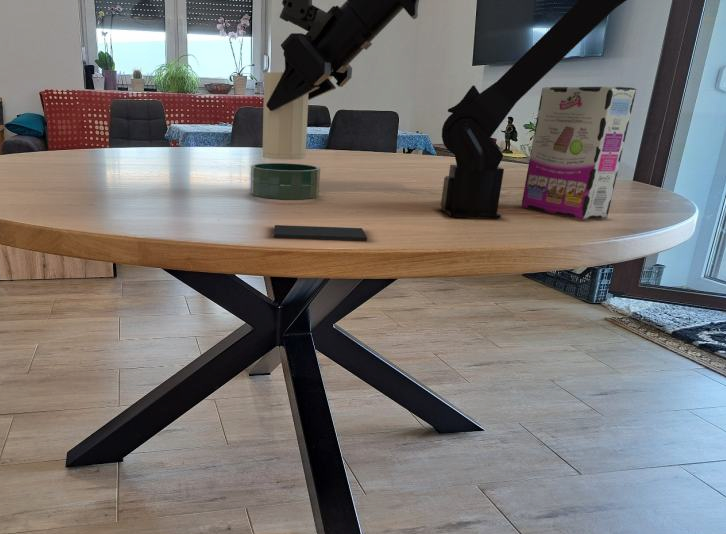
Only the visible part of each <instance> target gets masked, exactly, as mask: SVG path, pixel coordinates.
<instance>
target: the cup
mask: <svg viewBox="0 0 726 534" xmlns="http://www.w3.org/2000/svg"><path fill="white" fill-rule="evenodd" d="M283 73H284V71H283V72H280V71H279V72H277V71H275V72H274V71H268V72H267V71H266V72H264V73H263V103H262V104H263V107H262V108H263V109H262V110H263V111H262V158H265V159H272V160H303V159H306V154H307V137H308V136H307V135H308V116H309V115H308V114H309V100H308V94H309V93H308V94H306V95H304V96H302V97H300V98H298V99H296V100H294V101H292V102H290V103H288V104H286V105H284V106H282V107H280V108H278V109H276V110H273V111H270V110H269V109H268V107H267V106H266V104H267V102H268V101H269V99H270V97H271V95H272V93H273V91H274V90H275V88H276V86H277V84H278V82H279V80H280V79H281V77H282V75H283Z"/></svg>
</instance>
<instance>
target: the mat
mask: <svg viewBox="0 0 726 534" xmlns="http://www.w3.org/2000/svg"><path fill="white" fill-rule="evenodd" d="M273 230H274V231H273V238H274V239H297V240H298V239H299V240H300V239H301V240H326V241H327V240H328V241H329V240H330V241H353V242H355V241H356V242H357V241H359V242H367V241H368V237H367V235H366V232H365V231H364V229H363V228H362V227H341V226H339V227H338V226H315V225H313V226H312V225H288V224H287V225H286V224H285V225H284V224H275V225H274V229H273Z"/></svg>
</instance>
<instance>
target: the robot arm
mask: <svg viewBox="0 0 726 534" xmlns="http://www.w3.org/2000/svg"><path fill="white" fill-rule="evenodd" d="M626 1H627V0H578V1H577V2H576V3H575V4H574V5H573V6H572V7H571V8H570V9H569V10H568V11H566V12H565V14H564V15H563V16H562V17H561V18H559V19H558V20H557V22H556V23H554V25H552V27H550V28H549V29H548V30H547V31H546V32H545V33H544V35H542V36H541V37H540V39H538V40H537V41H536V42H535V43H534V44H533V46H531V47H530V48H529V49H528V50H527V51H526V52H525V53H524V54H523V55H522V56H521V57H520V58H519V59H518V60H517V61H516V62H515V63H514V64H513V65H512V66H511V67H510V68H509V69H508V70H507V71H506V72H505V73H504V74H503V75H501V77H500V78H499V79H498V80H497V81H495V82H494V83H493V84H491V85H490V86H488V87H487V88H485V89H484V90H483V91H481V92H479V90H478V88H477V87H476V86H475V85H472V86H470V87H469V90H468V91H467V92H466V93H465V95H464V96H463V98H462V99H461V100H460V101H459V102H458V103H456V104H455V106H452V107H450V108H448V109H447V112H448V113H451V114H450V115H449V116H448V117H447V118H446V119H445V121H444V123H443V125H442V128H441V139H442V144H443V145H444V147H445V148H446V150H447V151H449V152H450V153H451V154H452V155H454V158H455V163H456V164H450V165H449V171H448V175H445V176H444V177H443V186H442V193H441V201H440V209H441V210H442V211H443V212H445V214H447V215H448V216H450V217H454V218H478V219H480V218H481V219H501V218H502V214H501V213H499V212H498V209H499V202H500V198H501V197H500V196H501V190H502V185H503V177H504V171H505V168H502V167H500V164H501V162H502V161H503V158H504V153H503V150H502V148H501V147H500V146H499V145H498V144H497V142H496V141H495V140H494V139H493V138H492V136H493V135H494V133H496V131H497V129H498V128H499V127H500V126H501V124H502V123H503V122H504V120H505V119H506V118H507V116H508V115H509V113H510V112H511V111H512V109H513V108H514V106H515V105H516V104H517V103H518V102H519V101H520V99H522V98H523V97H524V96H525V95H526V94H527V93H528V92H529V91H530V90H532V88H534V86H536V84H538V83H539V82H540V81H541V80H542V79H543V78H544V77H545V76H546V75H547V74H549V72H550V71H551V70H552V69H553V68H555V67H556V66H557V65H558V64H559V63H560V62H561V61H562V60H563V59H564V58H565V57H566V56H567V55H568V54H570V52H571V51H573V49H575V48H576V46H578V44H580V43H581V42H582V41H583V40H584V39H585V38H586V37H587V36H588V35H589V34H590V33H591V32H592V31H593V30H594V29H595V28H597V26H599V25H600V24H601V23H602V22H603V21H604V20H605V19H606V18H607V17H608V16H609V15H610V14H611V13H612V12H613V11H614V10H615V9H617V8H618V7H620V6H621V5H622V4H623V3H625V2H626ZM419 3H420V0H346V1H345V2H344V3H343V4H342V5H340V6H339V5H336V6H335V5H333V6H332V7H331V8H330V9H329V10H327V11H325V10H322V9H321V8H320V7H317V6H315V5H313V0H282V1H281V4H282V6H283V8H282V10H281V12H280V14H279V19H281V20H283V21H285V22H289V23H291V24H293V25H295V26H296V27H299V28H301V29H303V30H305V31H306V33H303V32H302V33H301V32H297V33H295V32H291V33H290V34H289V35H287V37H286V39H284V41H282V42H281V44H280V47H281V49H282V50H283V53H282V54H283V57H284V70H283V72H284V73H283V75H282V77H281V79H280V80H279V82H278V84H277V86H276V88H275V90H274V91H273V93H272V95H271V97H270V99H269V101H268V102H267V104H266V106H267V107H268V109H269V110H270V111H273V110H276V109H278V108H280V107H282V106H284V105H286V104H288V103H290V102H292V101H294V100H296V99H298V98H300V97H302V96H304V95H306V94H308V93H309V94H308V101H310V100H312V99H315V98H317V97H320V96H322V95H324V94H326V93H329V92H331V91H334V90H336V89H337V87H339V88H343V87H344V86H345V85H346V84H347V83H348V82H349V81H350V80H351V79H352V78H353V77H352V75H353V67H352V66H351V65H350V63H352V61H353V60H354V59H355V58H357V56H358V55H360V54H361V52H362V51H363V50H368V49H369V48H370V47H371V46H372V45H373V42H372V41H373V40H374V39H375V38H376V37H377V36H378V35H379V34H380V33H381V32H382V31H383V30H384V29H385V28H386V27H387V26H388V25H389V24H390V23H391V22H392V21H393V20H394V19H395V17H397V15H399V14H400V13H401V11H403V10H405V12H406V13H407V14H408V15H409V17H410V18H411V19H412V20H416V19H418V16H419V13H418V11H419ZM333 78H334V79H335V80H336V82H335V84H336V85H337V87H336V85H334V83H333V82H332V81H331V79H333Z"/></svg>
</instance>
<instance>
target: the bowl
mask: <svg viewBox="0 0 726 534" xmlns="http://www.w3.org/2000/svg"><path fill="white" fill-rule="evenodd" d="M320 181H321V167H320V166H316V165H311V164H303V163H291V162H290V163H289V162H261V163H254V164H251V166H250V189H249V190H250V191H249V192H250V193H249V194H250V195H252V196H255V197H258V198H264V199H272V200H287V201H288V200H290V201H293V200H295V201H296V200H297V201H299V200H309V199H316V198H318V197H319V196H320V184H321V183H320Z"/></svg>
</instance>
